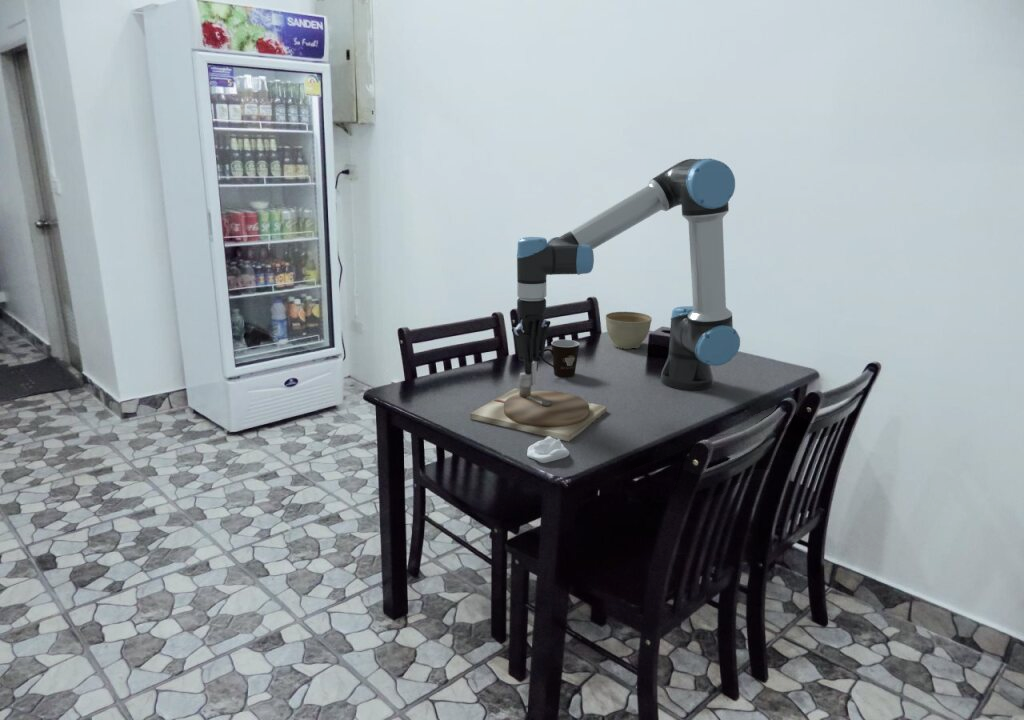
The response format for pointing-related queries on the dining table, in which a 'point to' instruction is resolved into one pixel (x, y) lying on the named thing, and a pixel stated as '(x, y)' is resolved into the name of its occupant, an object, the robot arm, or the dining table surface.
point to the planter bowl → (627, 328)
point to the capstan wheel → (544, 406)
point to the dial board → (496, 416)
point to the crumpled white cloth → (547, 450)
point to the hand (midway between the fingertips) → (531, 384)
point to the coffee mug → (564, 357)
